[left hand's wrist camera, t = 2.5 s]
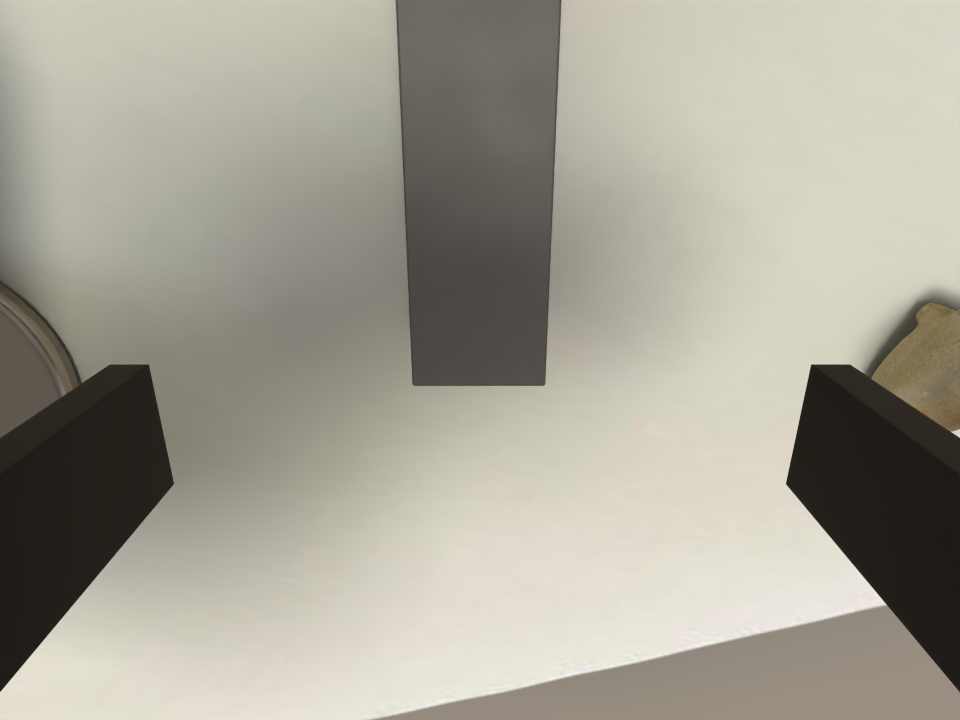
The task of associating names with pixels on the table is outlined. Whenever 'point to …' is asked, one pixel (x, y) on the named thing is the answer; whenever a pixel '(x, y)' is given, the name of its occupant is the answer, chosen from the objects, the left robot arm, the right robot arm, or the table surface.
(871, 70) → the table surface
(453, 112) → the bar
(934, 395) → the sculpture
